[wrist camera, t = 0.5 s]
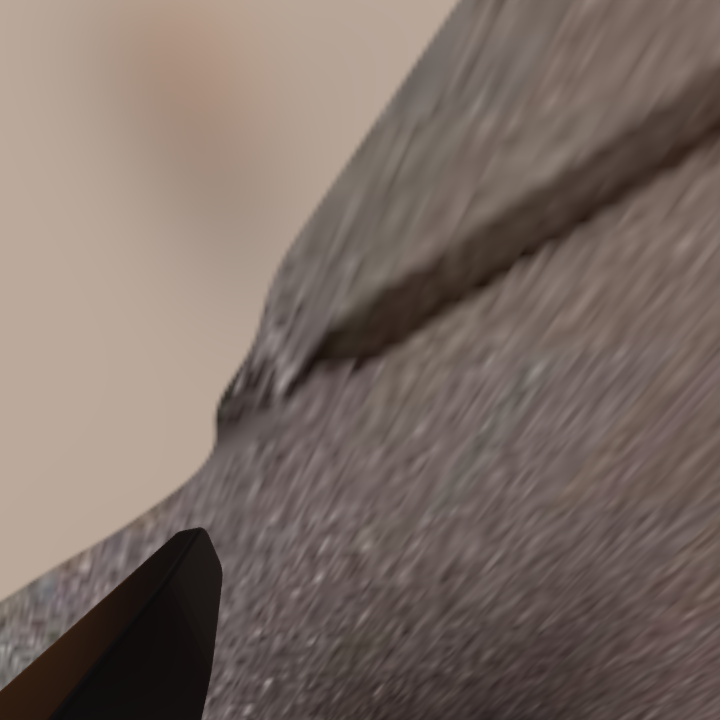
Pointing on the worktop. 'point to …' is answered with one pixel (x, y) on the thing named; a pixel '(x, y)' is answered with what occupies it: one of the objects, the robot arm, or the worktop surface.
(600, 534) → the worktop surface
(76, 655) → the robot arm
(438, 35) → the worktop surface
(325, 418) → the worktop surface
